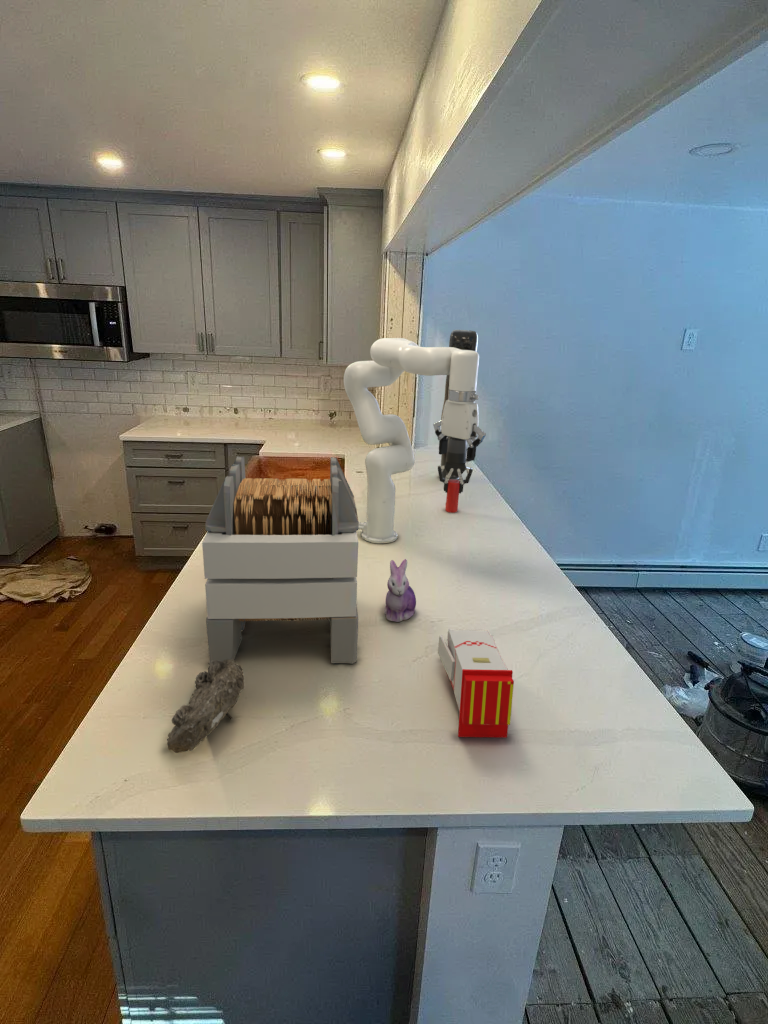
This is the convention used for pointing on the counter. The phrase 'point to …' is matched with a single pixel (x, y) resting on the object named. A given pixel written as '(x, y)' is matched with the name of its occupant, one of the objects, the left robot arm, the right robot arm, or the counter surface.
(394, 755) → the counter surface
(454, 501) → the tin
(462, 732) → the toy
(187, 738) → the fossil
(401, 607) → the figurine
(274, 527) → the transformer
